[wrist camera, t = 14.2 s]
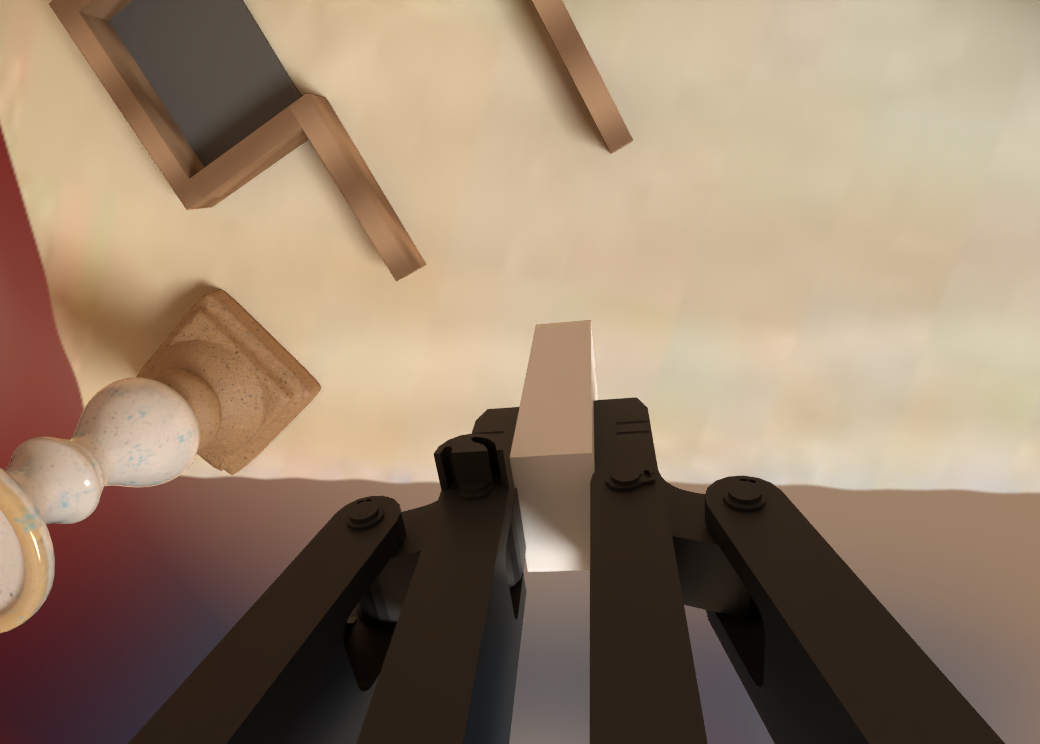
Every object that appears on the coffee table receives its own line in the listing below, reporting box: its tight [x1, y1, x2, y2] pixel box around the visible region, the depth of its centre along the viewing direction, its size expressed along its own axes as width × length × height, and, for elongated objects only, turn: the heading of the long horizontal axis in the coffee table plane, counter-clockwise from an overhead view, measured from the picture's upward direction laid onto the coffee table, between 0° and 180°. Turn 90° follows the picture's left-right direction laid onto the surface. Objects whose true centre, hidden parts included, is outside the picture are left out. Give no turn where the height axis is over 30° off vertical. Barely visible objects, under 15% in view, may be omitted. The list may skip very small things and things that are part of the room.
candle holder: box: [0, 290, 321, 633], centre depth 41 cm, size 11×11×24 cm
